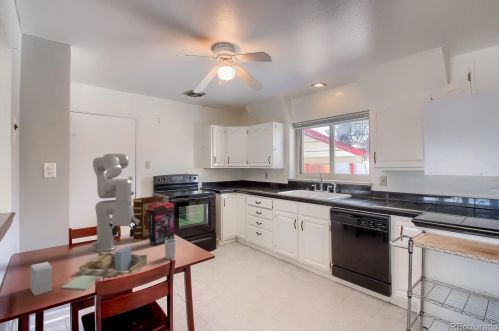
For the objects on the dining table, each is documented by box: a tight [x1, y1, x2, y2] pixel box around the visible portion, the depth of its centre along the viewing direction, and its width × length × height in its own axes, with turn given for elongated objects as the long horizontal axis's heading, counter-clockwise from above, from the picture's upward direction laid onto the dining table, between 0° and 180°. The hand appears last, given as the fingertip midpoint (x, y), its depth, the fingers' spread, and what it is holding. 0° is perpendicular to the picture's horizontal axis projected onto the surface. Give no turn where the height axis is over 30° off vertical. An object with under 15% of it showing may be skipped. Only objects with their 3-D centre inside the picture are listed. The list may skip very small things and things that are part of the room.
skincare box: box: [29, 261, 53, 296], centre depth 114 cm, size 10×6×10 cm, turn 48°
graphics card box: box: [149, 202, 175, 247], centre depth 181 cm, size 17×7×27 cm, turn 147°
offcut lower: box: [89, 261, 114, 270], centre depth 136 cm, size 7×9×3 cm
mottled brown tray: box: [78, 251, 148, 277], centre depth 135 cm, size 28×15×6 cm, turn 83°
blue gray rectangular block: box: [114, 246, 132, 271], centre depth 135 cm, size 3×9×11 cm, turn 173°
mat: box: [61, 274, 105, 291], centre depth 121 cm, size 12×12×1 cm
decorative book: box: [132, 195, 164, 242], centre depth 193 cm, size 22×8×30 cm, turn 148°
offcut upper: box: [92, 255, 112, 267], centre depth 136 cm, size 6×8×3 cm
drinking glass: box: [164, 238, 177, 260], centre depth 153 cm, size 7×7×10 cm
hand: (123, 235), depth 135 cm, fingers open, 9 cm apart
